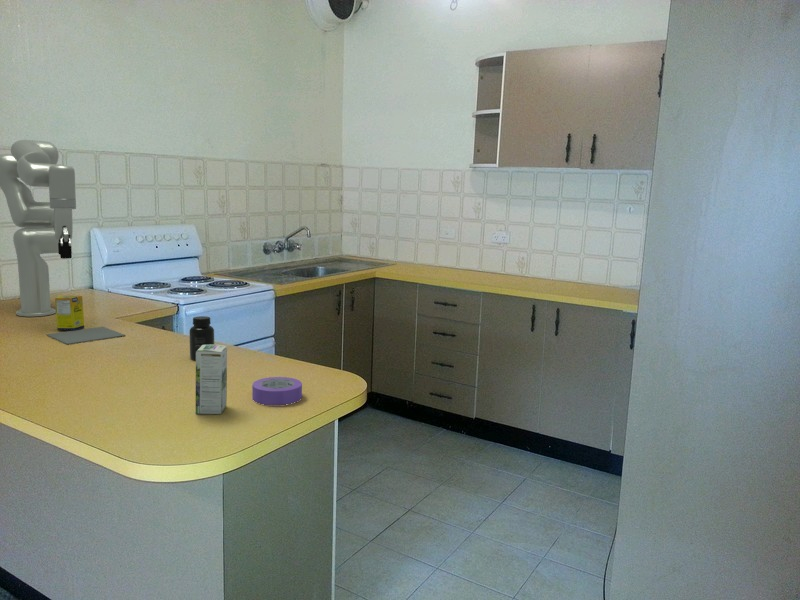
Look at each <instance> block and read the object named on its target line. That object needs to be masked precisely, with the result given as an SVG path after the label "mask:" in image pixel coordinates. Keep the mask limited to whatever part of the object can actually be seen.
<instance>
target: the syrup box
mask: <svg viewBox="0 0 800 600" xmlns="http://www.w3.org/2000/svg"><path fill="white" fill-rule="evenodd" d="M227 372H228V346H227V345H223V344H214V345H213V344H209V345H202V346H201V347H200V348H199V349H198V350H197V351H196V360H195V414H196V415H222V414H223V412H224V410H225V409H226V407H227V394H228V393H227V392H228V391H227V390H228V389H227V388H228V387H227V385H228V383H227V382H228V378H227V377H228V373H227Z"/></svg>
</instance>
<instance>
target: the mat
mask: <svg viewBox="0 0 800 600" xmlns="http://www.w3.org/2000/svg"><path fill="white" fill-rule="evenodd" d="M45 335H47V336H46V337H48V338H52V339H53V340H55V339H56V340H55V341H57V340H58V342H59V343H62V344H64V345H66V344H67V345H68V346H69V344H70V345H76V344H75V343H77V344H81V342H83V343H88V342H87V341H90V342H94V341H93V340H97V341H102V340H101V339H103V340H108V339H107V338H110V339H116V338H115V337H117V338H121V336H123V337H126V334H124V333H121V332H119V331H116V330H113V329H110V328H108V327H106V326H98V327H91V328H90V327H88V328H81V329H77V330H66V331H60V332H53V333H46V334H45ZM67 345H66V346H67Z"/></svg>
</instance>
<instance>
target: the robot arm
mask: <svg viewBox="0 0 800 600" xmlns="http://www.w3.org/2000/svg"><path fill="white" fill-rule="evenodd" d="M58 161H59V150H58V148H57V146H56V145H55V144H54V143H52V142H51V141H43V140H33V139H32V140H31V139H19V140H17V141H15V142H13V144H12V145H11V146H10V153H2V154H0V189H1V190H2V193H3V194H4V197H5V199H6V204H7V206H8V211H9V214H10V217H11V220H12V222H13V223H14V225H15V226H16V227H19V229H17V230H15V232H14V233H13V237H12V238H13V240H12V241H13V245H14V248H15V254H16V259H17V268H18V269H17V270H18V284H19V301H20V309H18V310H16V311H15V314H16V315H17V316H19V317H27V318H29V317H31V318H32V317H45V316H50V315H53V314H56V308H53V307H51V292H50V291H51V289H50V271H49V265H48V263H47V261H46V260H45V259H44V258H43V257H41V255H44V254H58V255H60V259H62V260H63V259H64V260H65V259H66V260H67V259H72V254H73V252H72V244H71V240H72V239H73V225H74V224H73V210H77V200H76V197H77V195H76V173H75V168H74V167H73V166H70V165H65V164H57V163H58ZM18 178H19V179H20V180H21V181H20V180H19V179H18ZM27 185H28V186H29V187H33V188H34V187H35V188H36V187H39V188H48V193H49V194H48V195H49V202H47V201H36V200H34V196H33V194H32V191H31V189H30V188H29V187H28V186H27Z"/></svg>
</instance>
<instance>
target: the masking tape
mask: <svg viewBox="0 0 800 600" xmlns="http://www.w3.org/2000/svg"><path fill="white" fill-rule="evenodd" d="M251 388H252V389H251V390H252V391H251V392H252V393H251V395H252V396H251V397H252V401H253V400H254V401H255V402H257V403H256V404H258V403H260V404H259V405H261V404H264V405H263V406H266V405H285V406H287V405H286V404H291V403H294V402H297V401H299V400H300V399H301V398H302V397H303V383H302V381H300V379H297V378H292V377H287V376H273V377H271V376H270V377H263V378H260V379H256V380H255V381H253V382H252V385H251ZM302 399H303V398H302ZM302 399H301V400H302ZM301 400H300V401H301ZM254 401H253V402H254ZM300 401H299V402H300ZM255 402H254V403H255ZM297 403H298V402H297ZM294 404H295V403H294ZM291 405H292V404H291Z"/></svg>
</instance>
